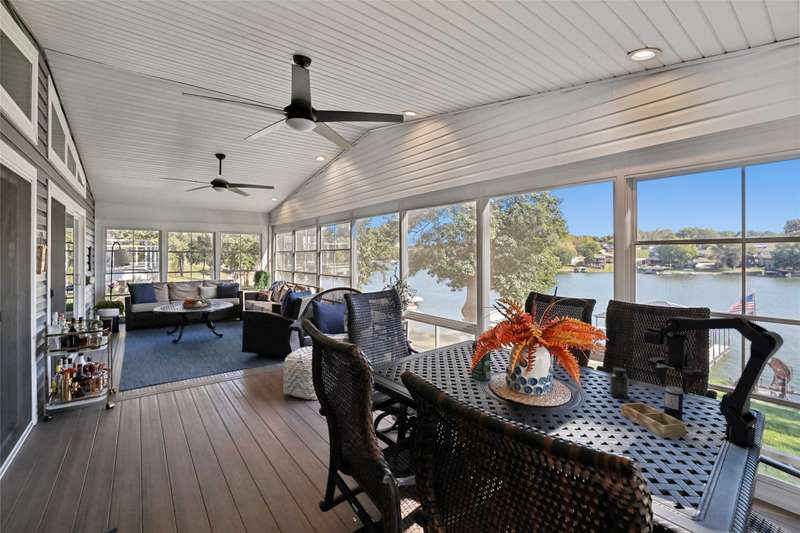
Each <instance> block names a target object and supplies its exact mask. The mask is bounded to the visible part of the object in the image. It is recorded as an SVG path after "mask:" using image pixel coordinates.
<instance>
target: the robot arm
mask: <svg viewBox="0 0 800 533" xmlns="http://www.w3.org/2000/svg"><path fill="white" fill-rule="evenodd" d="M731 329H733V330H735V331H737V332H738V333H739V334H741V335H742V336H743V337H744V339H745V340H748V341H749V342H750V346H749V347H750V348H749V352H750V354H749V357H748V360H747V362H746V364H745V367H744V368H743V370H742V373H741V375H740V377H739V379H738V381H737V384H736V385H735V388H734V389H733V392H732V391H728V392H727V393H724V394H723V395H722V397H721V401H720V402H719V403H718V406H719V412H720V413H721V416H723V417H724V419H725V422H726V424H725V436H723V437H722V439H723V440H726V441H727V442H730V443H732V444H733V445H735V446H738V447H740V448H742V449H748V448H756V447H759V444H758V443H755V440H756V428H755V427H754V426H756V424H757V423H758V421H759V420H758V418H757V417H756V415H754V414H753V413H752V411H750V409H751V404H752V402H751V396H752V394H753V392H754V390H755V387H756V386H757V384H758V383H759V380H760V378H761V376H762V375H763V374H762V373H763V372H764V370H765V368H766V366H767V364H768V362H769V360H770V359H771V358H772V357H774V356H775V354H776V353H777V352H778V351H779V350H780V349H781V347H782V346H783V345H784V339H783V337H782V336H781V335H780V334H779V333H777V332H775V331H771V330H770V331H769V330H768V329H767V328H765V327H763V326H761V325H759V324H757V323H755V322H753V321H751V320H750V319H748V318H746V317H744V316H735V317H715V318H714V317H712V318H694V317H689V316H681V315H680V316H673V317H669V318H667V319H666V320H665V322H664V325H663V326H662V327H661V328H655V327H650V326H649V327H646V331H645V332H644V335H643V342H644V343H645V344H646V345H652V346H656V347H660V348H661V347H662V348H663V347H664V346H666V350H663V354H664V355H666V357H665V358H663V357H660V356H655V357H650V358H649V359H648V365H649V366H650V368H652V370H653V371H654V373H655V374H656V377H657V378H658V380H659V383H660V385H661V386H662V387H663V386H666V382H667V381H666V380H667V371H668V369H670V370H673V371H676V372H679V373H682V377H681V383H682V391H683V395H685V396H686V395H687V396H688V395H689V394H690V391H691V389H692V387H693V386H694V384H695V383H696V382H697V381H701V380H706V375H707V374H706V372H705V371H704V370H703V369H702V370H701V369H698V368H697V367H698V364H699V361H698V360H696V359H693V358H691V357H689V356H690V355H689V353H688V352H686V346H687V345H686V344H687V342H689V341H693V340H694V338H693V337H692V336H691V335H690V334H689V333H683V332H688V331H689V332H690V331H694V330H731ZM671 333H673V334H671ZM682 333H683V334H682Z"/></svg>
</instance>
